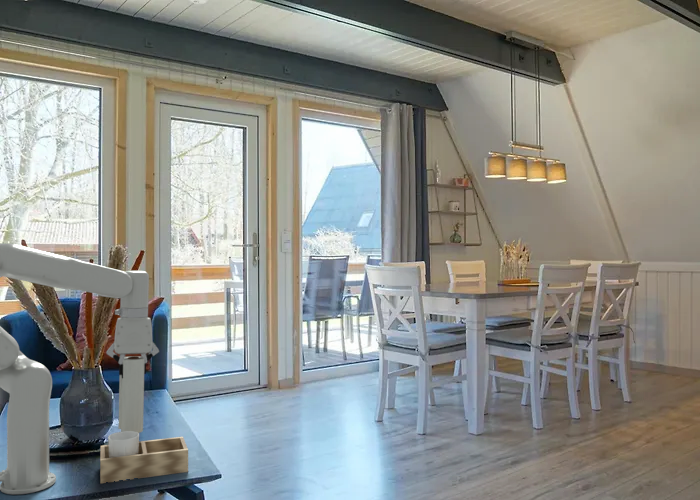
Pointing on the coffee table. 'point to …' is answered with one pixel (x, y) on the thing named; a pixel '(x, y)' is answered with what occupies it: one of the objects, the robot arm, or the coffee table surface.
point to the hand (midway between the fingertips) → (132, 376)
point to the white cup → (123, 444)
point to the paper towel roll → (131, 395)
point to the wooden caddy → (146, 460)
